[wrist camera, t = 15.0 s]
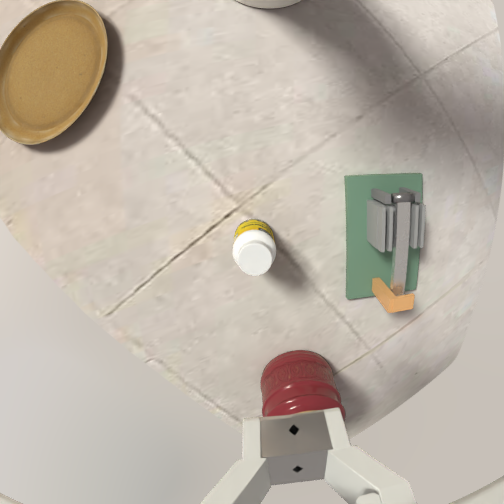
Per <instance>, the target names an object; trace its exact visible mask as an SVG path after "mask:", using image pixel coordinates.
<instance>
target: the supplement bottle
mask: <svg viewBox="0 0 504 504" xmlns="http://www.w3.org/2000/svg"><path fill="white" fill-rule="evenodd" d="M275 256H276V245H275V241H274V237H273V233H272V230H271V228H270V226H269V225H268V224H267V223H266V222H264V221H263V220H260V219H255V218H252V219H247V220H245V221H243V222H242V223H241V224H240V225H239V226H238V228H237V229H236V232H235V236H234V242H233V257H234V260H235V262H236V263H237V265H238V266H239V267H240V269H241V270H242V271H243V272H244V273H246V274H248V275H251V276H258V275H262V274H264V273H265V272H267V271H268V270H269V268H270V267H271V264H272V263H273V261H274V259H275Z"/></svg>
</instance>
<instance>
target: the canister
mask: <svg viewBox="0 0 504 504" xmlns="http://www.w3.org/2000/svg"><path fill="white" fill-rule="evenodd" d="M261 391H262V399H263V407H262V414H263V417H269V416H283V415H291V414H297V413H304V412H311V411H317V410H325V409H331V408H337V407H338V408H339V409H340V410H341V414H342V417H343V420H344V421H345V416H346V413H345V409H344V407H343V406H342V404H341V397H340V394H339V392H338V391H337V388H336V385H335V382H334V378H333V372H332V370H331V367H330V365H329V364H328V363H327V361H326V360H325V359H324V358H323V357H322V356H320V355H319V354H317V353H314V352H311V351H305V350H297V351H290V352H287V353H284V354H281V355H279V356H277V357H276V358H274V359H273V360H272V361H270V362H269V363H268V364H267V366H266V367H265V369H264V371H263V374H262V377H261Z"/></svg>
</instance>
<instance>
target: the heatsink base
mask: <svg viewBox="0 0 504 504" xmlns="http://www.w3.org/2000/svg"><path fill="white" fill-rule="evenodd" d="M405 192H412V193H413V194H414V202H413V203H410V230H409V247H408V260H407V272H406V282H405V291H408V290H414V289H416V284H417V275H418V265H419V253H420V248H423V244H424V229H425V206H426V205H424V204H422V174H421V173H401V174H371V175H350V176H345V197H346V243H347V261H346V298H347V299H355V298H362V297H369V296H375V295H374V293H373V292H372V279H373V278H378V277H380V279H381V280H382V281H383V282H384V283H385V284H386V285H387V287H388V288H389V289H390V283H391V271H392V256H393V237H394V204H392V202H391V193H405Z"/></svg>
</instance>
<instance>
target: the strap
mask: <svg viewBox="0 0 504 504" xmlns="http://www.w3.org/2000/svg"><path fill="white" fill-rule="evenodd" d="M391 202H392V204H394V237H393V256H392V271H391V283H390V290H391V291H392V292H393V294H394V295H395V296H401V295H404V291H405V282H406V272H407V260H408V247H409V230H410V203H413V202H414V194H413V193H412V192H405V193H391Z"/></svg>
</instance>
